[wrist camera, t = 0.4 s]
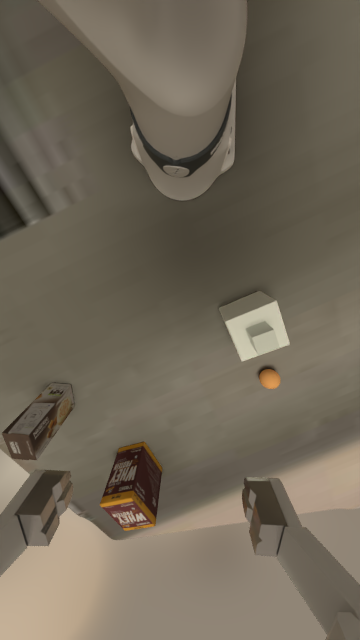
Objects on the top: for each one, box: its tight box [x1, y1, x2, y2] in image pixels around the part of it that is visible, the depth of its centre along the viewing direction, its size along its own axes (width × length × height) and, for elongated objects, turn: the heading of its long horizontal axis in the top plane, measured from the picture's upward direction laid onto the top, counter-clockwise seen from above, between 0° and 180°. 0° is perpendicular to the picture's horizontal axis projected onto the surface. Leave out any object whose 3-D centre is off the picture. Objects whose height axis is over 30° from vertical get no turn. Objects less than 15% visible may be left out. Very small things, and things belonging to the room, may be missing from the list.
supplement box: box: [100, 442, 162, 531], centre depth 59 cm, size 10×15×16 cm
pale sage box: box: [218, 291, 290, 361], centre depth 39 cm, size 10×10×13 cm
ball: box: [259, 369, 280, 389], centre depth 48 cm, size 5×5×5 cm
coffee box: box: [2, 383, 75, 460], centre depth 49 cm, size 9×6×16 cm
